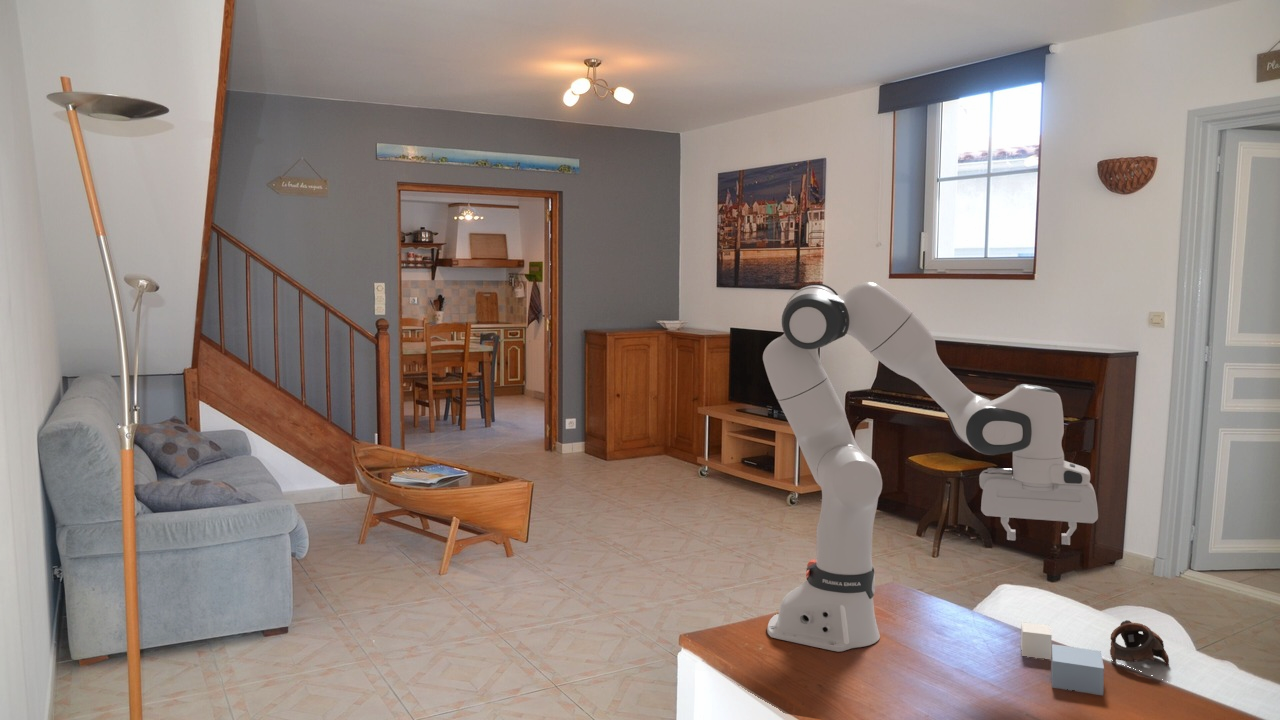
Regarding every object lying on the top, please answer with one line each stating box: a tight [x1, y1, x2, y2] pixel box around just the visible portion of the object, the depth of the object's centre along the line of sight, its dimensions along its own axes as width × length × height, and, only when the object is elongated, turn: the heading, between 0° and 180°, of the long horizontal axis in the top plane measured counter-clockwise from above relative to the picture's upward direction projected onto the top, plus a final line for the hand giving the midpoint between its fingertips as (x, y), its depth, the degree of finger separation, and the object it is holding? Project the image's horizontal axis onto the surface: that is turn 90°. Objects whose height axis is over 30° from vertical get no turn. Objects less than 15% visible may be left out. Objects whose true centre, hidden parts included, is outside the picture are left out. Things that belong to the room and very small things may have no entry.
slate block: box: [1050, 643, 1105, 696], centre depth 155 cm, size 8×8×5 cm
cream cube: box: [1020, 621, 1053, 659], centre depth 168 cm, size 5×5×5 cm
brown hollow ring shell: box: [1109, 619, 1170, 667], centre depth 164 cm, size 12×10×8 cm
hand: (1038, 541), depth 166 cm, fingers open, 8 cm apart
